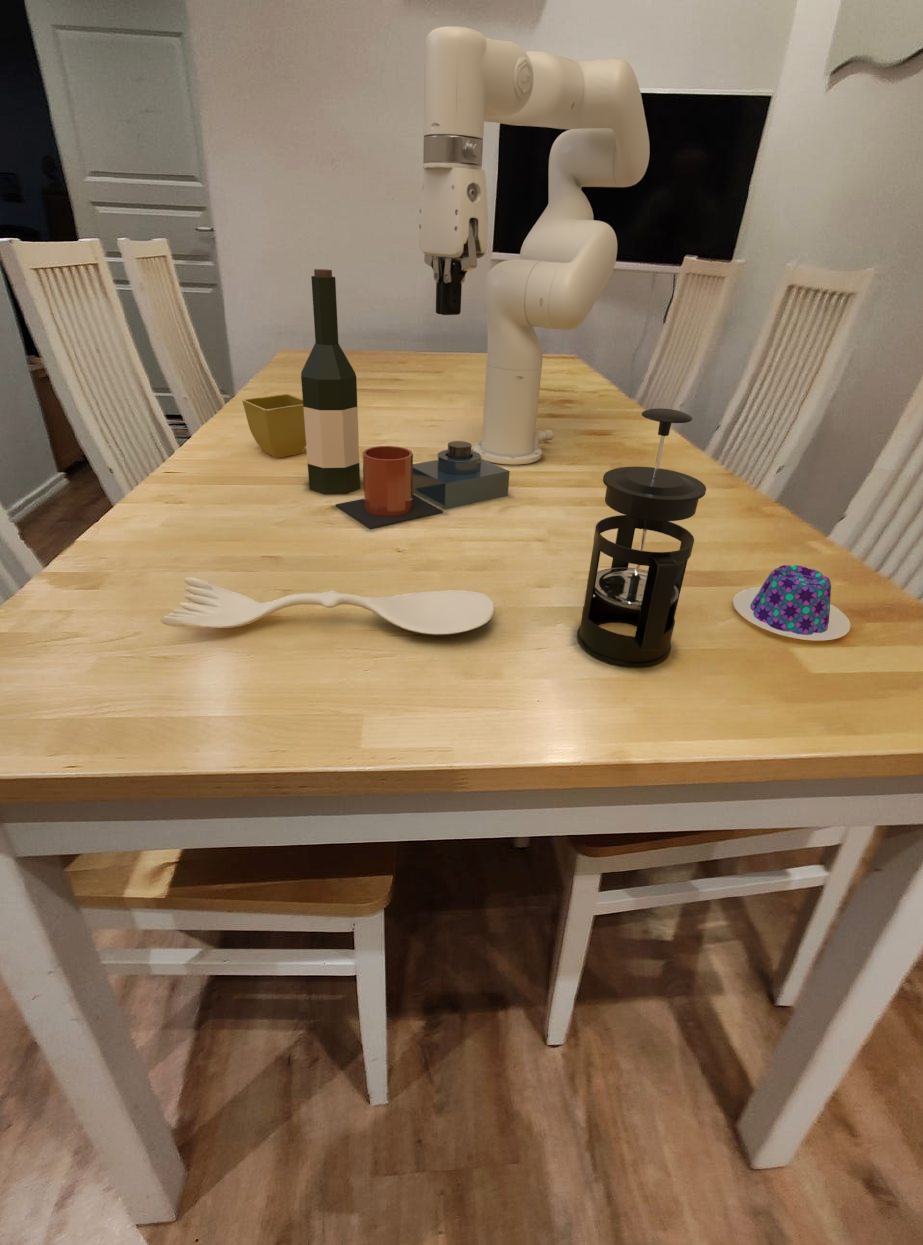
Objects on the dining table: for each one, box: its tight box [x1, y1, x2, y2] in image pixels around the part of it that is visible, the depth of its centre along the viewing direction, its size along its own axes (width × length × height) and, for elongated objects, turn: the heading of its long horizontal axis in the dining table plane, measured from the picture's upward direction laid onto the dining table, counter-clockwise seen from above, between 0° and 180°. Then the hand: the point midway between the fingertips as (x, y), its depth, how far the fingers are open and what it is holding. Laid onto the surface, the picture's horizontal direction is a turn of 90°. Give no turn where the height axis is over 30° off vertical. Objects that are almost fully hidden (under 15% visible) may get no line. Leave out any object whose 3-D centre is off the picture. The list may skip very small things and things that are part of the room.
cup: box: [362, 445, 414, 516], centre depth 95 cm, size 7×7×8 cm
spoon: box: [159, 576, 496, 636], centre depth 68 cm, size 9×32×3 cm, turn 94°
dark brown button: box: [447, 440, 473, 459], centre depth 102 cm, size 4×4×2 cm
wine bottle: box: [300, 268, 361, 496], centre depth 98 cm, size 8×8×30 cm
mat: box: [335, 494, 444, 530], centre depth 98 cm, size 12×10×1 cm
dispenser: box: [413, 449, 511, 511], centre depth 104 cm, size 12×10×6 cm
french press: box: [576, 407, 707, 669], centre depth 62 cm, size 12×9×23 cm
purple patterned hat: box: [732, 564, 851, 641], centre depth 73 cm, size 12×12×5 cm
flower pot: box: [241, 393, 306, 459], centre depth 117 cm, size 9×9×9 cm
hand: (448, 313), depth 95 cm, fingers closed
